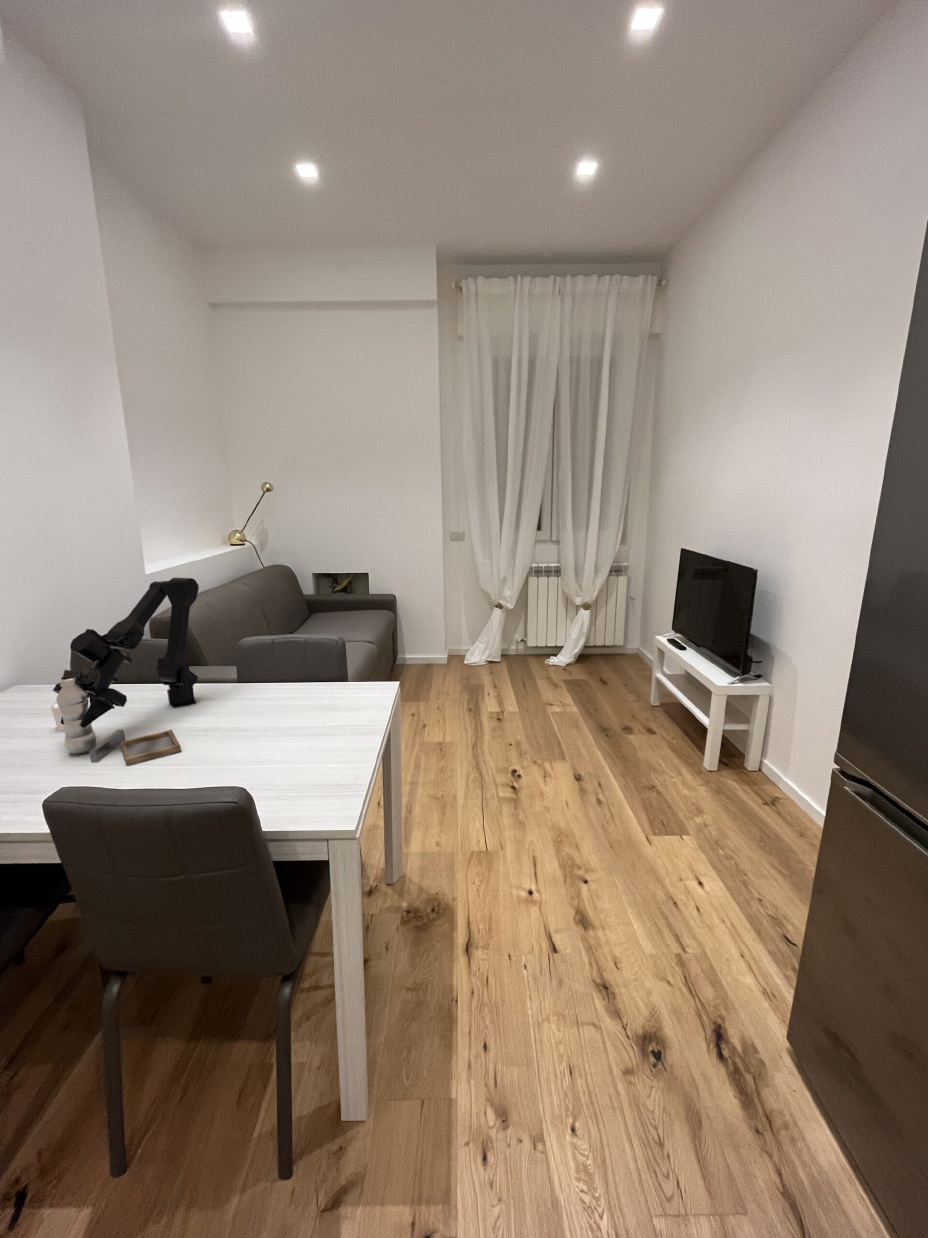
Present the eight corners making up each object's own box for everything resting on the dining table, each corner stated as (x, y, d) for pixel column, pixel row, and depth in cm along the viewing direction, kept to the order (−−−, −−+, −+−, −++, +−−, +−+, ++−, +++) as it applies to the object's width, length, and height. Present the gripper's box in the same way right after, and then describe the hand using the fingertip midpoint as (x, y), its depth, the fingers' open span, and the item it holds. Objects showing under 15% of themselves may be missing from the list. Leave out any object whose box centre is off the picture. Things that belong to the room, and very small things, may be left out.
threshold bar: (119, 740, 146) (118, 729, 145) (125, 740, 146) (123, 729, 145) (91, 762, 134) (89, 750, 133) (97, 762, 134) (95, 750, 133)
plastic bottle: (104, 746, 142) (91, 674, 137) (78, 759, 136) (64, 683, 131) (86, 742, 144) (73, 671, 139) (60, 754, 138) (45, 680, 133)
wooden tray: (172, 735, 148) (171, 729, 148) (181, 751, 139) (180, 745, 139) (120, 747, 141) (119, 741, 141) (126, 766, 132) (125, 759, 132)
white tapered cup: (69, 733, 150) (64, 709, 149) (48, 731, 152) (43, 707, 150) (90, 722, 157) (86, 699, 155) (70, 721, 158) (66, 698, 156)
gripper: (53, 652, 140) (16, 709, 133) (109, 658, 135) (75, 717, 127) (86, 672, 150) (54, 725, 142) (141, 678, 144) (110, 734, 137)
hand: (72, 725), depth 137 cm, fingers open, 6 cm apart
